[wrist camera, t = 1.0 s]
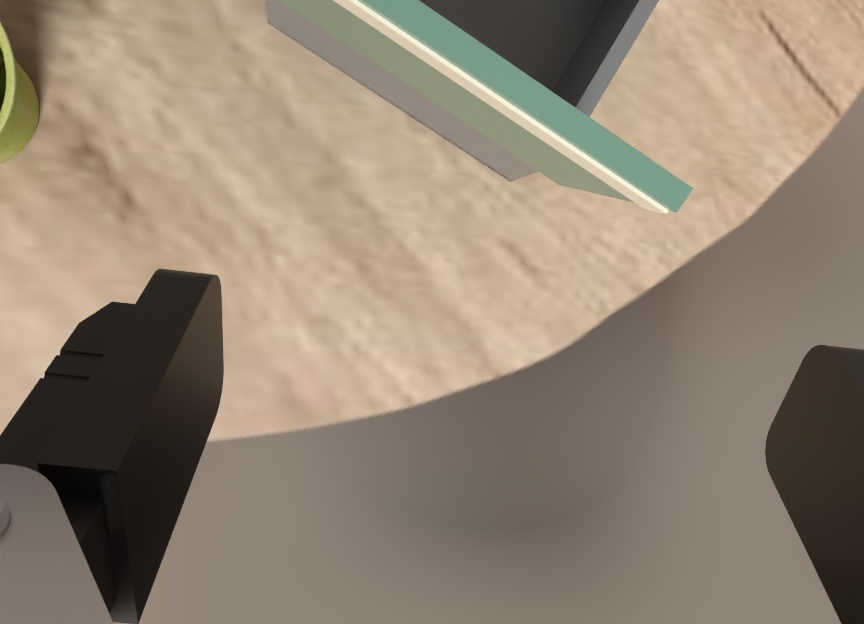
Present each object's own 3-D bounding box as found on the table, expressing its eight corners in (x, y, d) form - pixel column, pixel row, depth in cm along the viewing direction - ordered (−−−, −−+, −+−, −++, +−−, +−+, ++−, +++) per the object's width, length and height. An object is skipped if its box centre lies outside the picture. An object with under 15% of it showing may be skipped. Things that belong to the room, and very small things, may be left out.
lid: (248, -44, 33) (237, -25, 33) (157, -180, 19) (139, -145, 19) (569, 170, 36) (558, 187, 36) (693, 188, 22) (674, 215, 22)
